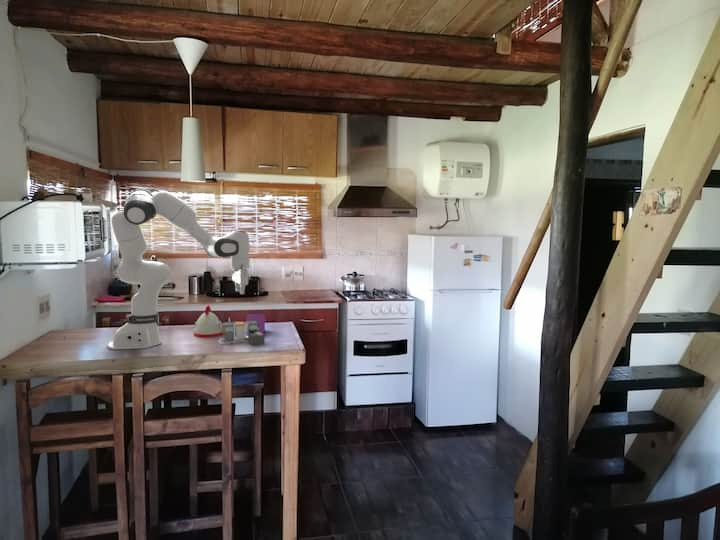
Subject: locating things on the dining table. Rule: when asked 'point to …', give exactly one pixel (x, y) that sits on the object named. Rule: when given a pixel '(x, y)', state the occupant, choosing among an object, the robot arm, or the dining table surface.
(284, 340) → the dining table surface
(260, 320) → the mounting bracket
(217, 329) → the white and red dome
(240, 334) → the loose module
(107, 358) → the dining table surface
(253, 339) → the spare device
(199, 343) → the dining table surface
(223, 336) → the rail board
